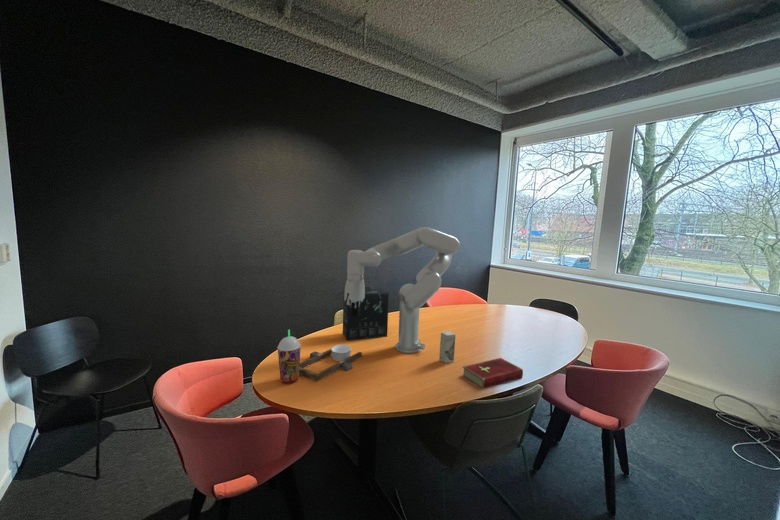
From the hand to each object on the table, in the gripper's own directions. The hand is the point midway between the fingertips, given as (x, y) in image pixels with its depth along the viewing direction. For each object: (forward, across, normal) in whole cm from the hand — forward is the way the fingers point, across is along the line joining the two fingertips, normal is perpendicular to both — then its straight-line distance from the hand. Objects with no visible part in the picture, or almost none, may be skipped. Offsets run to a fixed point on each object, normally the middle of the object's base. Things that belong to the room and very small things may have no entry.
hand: (355, 315), depth 150 cm
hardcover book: (+18, -13, +61) cm, 65 cm away
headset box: (+17, -20, -9) cm, 28 cm away
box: (+17, -16, +40) cm, 46 cm away
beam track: (+17, +16, 0) cm, 24 cm away
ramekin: (+17, +9, 0) cm, 20 cm away
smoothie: (+17, +36, -2) cm, 40 cm away
